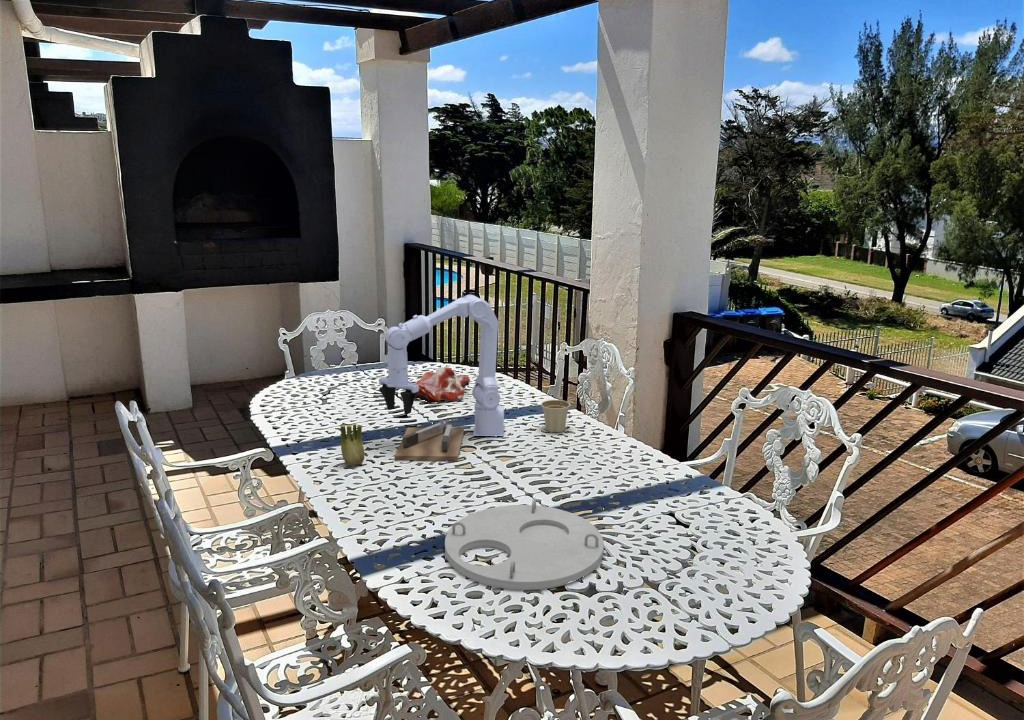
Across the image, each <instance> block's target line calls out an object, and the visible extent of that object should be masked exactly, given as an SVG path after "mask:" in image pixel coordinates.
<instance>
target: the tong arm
mask: <svg viewBox="0 0 1024 720" xmlns="http://www.w3.org/2000/svg"><path fill="white" fill-rule="evenodd" d="M449 423H450V422H449V420H448V419H441V420H439V422H437V423H434V424H432V425H430V426H427V427H423V428H424V429H422V430H419V431H417V432H413V433H411V434H408V435H406V436H404V435H403V436H402V439H403V447H406V448H407V447H410V446H412V445H415V444H417V443H419V442H421V441H424V440H426V439H429V438H431V437H433V436H436V435H438V434H441V433H443V432H445V430H446V427H447V425H450V424H449Z"/></svg>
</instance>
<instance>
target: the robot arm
mask: <svg viewBox="0 0 1024 720" xmlns="http://www.w3.org/2000/svg"><path fill="white" fill-rule="evenodd" d="M492 308H493V307H492V305H491V304H490V303H488V301H486V300H484V299H482V298H480V297H478V296H476V295H474V294H467V295H465V296H463V297H459V298H456V299H455V300H454V301H452V302H450V303H448V304H446V305H445V306H443V307H441V308H439V309H438V310H435V311H434V312H433V313H430V314H428V315H427V316H425V315H424V314H423V315H422V314H420V315H417V314H415V315H413V316H412V318H411V319H409V320H407V321H406V322H400V323H398V326H391V327H389V328H388V329H387V330H386V332H385V335H384V340H385V341H386V343H387V371H388V372H387V373H388V374H387V375H388V377H380V378H378V385H379V386H380V387H379V389H378V390H379V392H380V393H381V395H382V397H383V399H384V401H385V405H386V408H387V410H388V411H390V410H393V409H395V402H396V401H395V400H396V399H395V398H396V391H397V389H401V390H403V391H401V392H399V393H400V396H401V399H402V403H403V404H402V405H403V413H404V415H409V414H411V413H412V410H413V406H414V402H415V400H416V396H417V394H418V391H419V388H418V385H416V384H415V383H414V382H411V381H410V380H409V376H408V375H409V370H408V368H409V367H408V351H407V350H408V349H407V347H408V345H409V343H410V342H413V341H414V340H417V339H418V338H420V337H422V336H424V335H427V334H428V333H430V332H431V329H432V327H433V326H436V325H438V324H441V323H443V322H445V321H447V320H450V319H451V318H454V317H461V318H468V316H469V317H471V318H472V319H473V320H474V321H475V322H476V323H477V324H478V325H480V336H479V337H480V339H479V340H480V341H479V342H480V343H479V355H478V356H479V359H478V374H477V375H478V376H477V377H476V378H475V384H474V386H473V388H472V392H471V394H472V397H473V399H474V400H475V403H474V428H473V432H472V437H474V436H495V438H497V436H503V437H504V434H503V433H504V431H505V429H506V426H505V425H506V423H505V406H503V405H499V404H500V402H501V394H500V393H499V384H498V381H497V379H496V372H497V370H496V369H497V353H498V351H497V349H498V335H499V334H498V333H499V319H498V318H497V316H496V314H495V312H494V311H493V309H492Z"/></svg>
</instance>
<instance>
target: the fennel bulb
mask: <svg viewBox="0 0 1024 720" xmlns="http://www.w3.org/2000/svg"><path fill="white" fill-rule="evenodd" d="M339 427H340V434H341V435H340V436H341V440H340V441H341V442H340V444H341V447H340V448H341V456H342V459H343V461H344V463H345V464H346V465H347V466H350V467H358V466H360V465H361V464H362V463H364V460H365V447H364V443H363V439H362V437H363V436H362V435H363V434H362V429H363V425H362V424H356V423H352V424H348V425H345V424H342V425H339Z"/></svg>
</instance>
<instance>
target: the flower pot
mask: <svg viewBox="0 0 1024 720" xmlns="http://www.w3.org/2000/svg"><path fill="white" fill-rule="evenodd" d="M540 406H541V407H542V410H543V418H544V425H545V426H544V427H545V430H546V431H547V432H550V433H562V432H564V431H565V430H566V425H567V420H568V419H567V418H568V412H569V410H570V406H571V403H570V402H569V401H566V400H562V399H561V400H560V399H550V400H549V399H547V400H544V401H542V402H541V403H540Z"/></svg>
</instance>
